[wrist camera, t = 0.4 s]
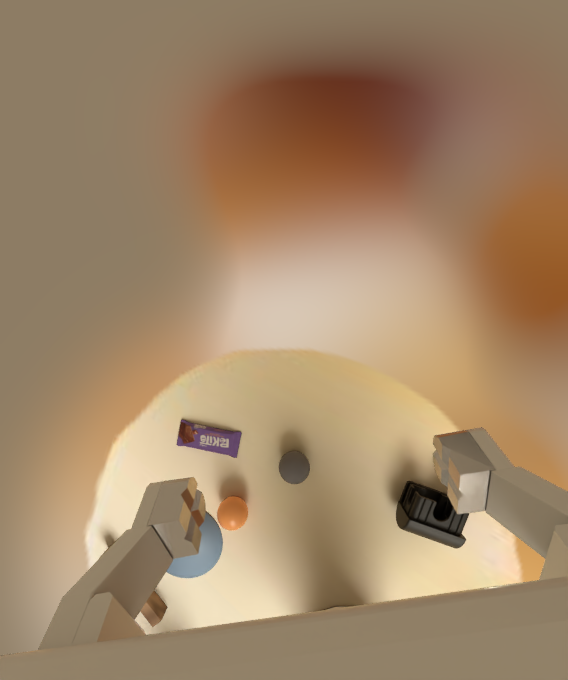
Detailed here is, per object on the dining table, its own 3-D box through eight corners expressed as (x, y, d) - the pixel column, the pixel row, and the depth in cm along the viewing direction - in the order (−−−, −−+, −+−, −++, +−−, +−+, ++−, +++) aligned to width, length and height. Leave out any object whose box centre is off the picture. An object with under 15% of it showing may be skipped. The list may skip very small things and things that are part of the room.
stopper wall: (167, 607, 66) (161, 620, 63) (159, 613, 66) (152, 626, 63) (116, 542, 66) (107, 552, 63) (108, 548, 66) (99, 558, 63)
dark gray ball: (315, 464, 63) (317, 477, 58) (291, 481, 64) (291, 496, 58) (297, 440, 63) (297, 451, 58) (273, 458, 64) (271, 470, 58)
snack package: (240, 433, 63) (235, 460, 63) (242, 430, 64) (237, 455, 65) (179, 420, 63) (174, 447, 63) (182, 418, 65) (178, 443, 65)
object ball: (255, 507, 64) (252, 525, 59) (233, 524, 65) (227, 543, 59) (238, 484, 64) (232, 499, 59) (215, 501, 64) (207, 518, 59)
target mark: (237, 549, 65) (237, 550, 65) (180, 591, 66) (179, 592, 65) (192, 491, 65) (191, 491, 64) (135, 534, 65) (134, 534, 65)
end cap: (391, 513, 64) (402, 536, 57) (404, 478, 63) (417, 497, 56) (442, 532, 63) (460, 557, 57) (456, 497, 63) (475, 517, 56)
